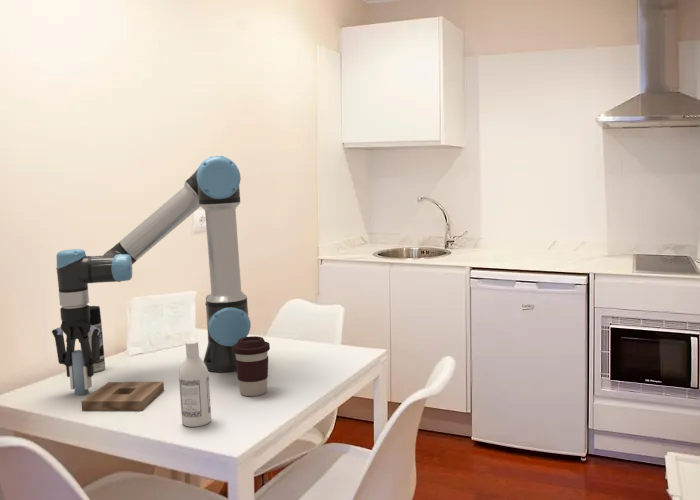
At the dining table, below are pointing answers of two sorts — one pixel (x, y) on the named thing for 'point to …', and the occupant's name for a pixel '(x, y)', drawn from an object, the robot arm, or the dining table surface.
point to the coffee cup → (252, 365)
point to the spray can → (96, 322)
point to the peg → (78, 372)
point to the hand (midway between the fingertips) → (81, 387)
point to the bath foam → (194, 388)
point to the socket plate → (123, 396)
